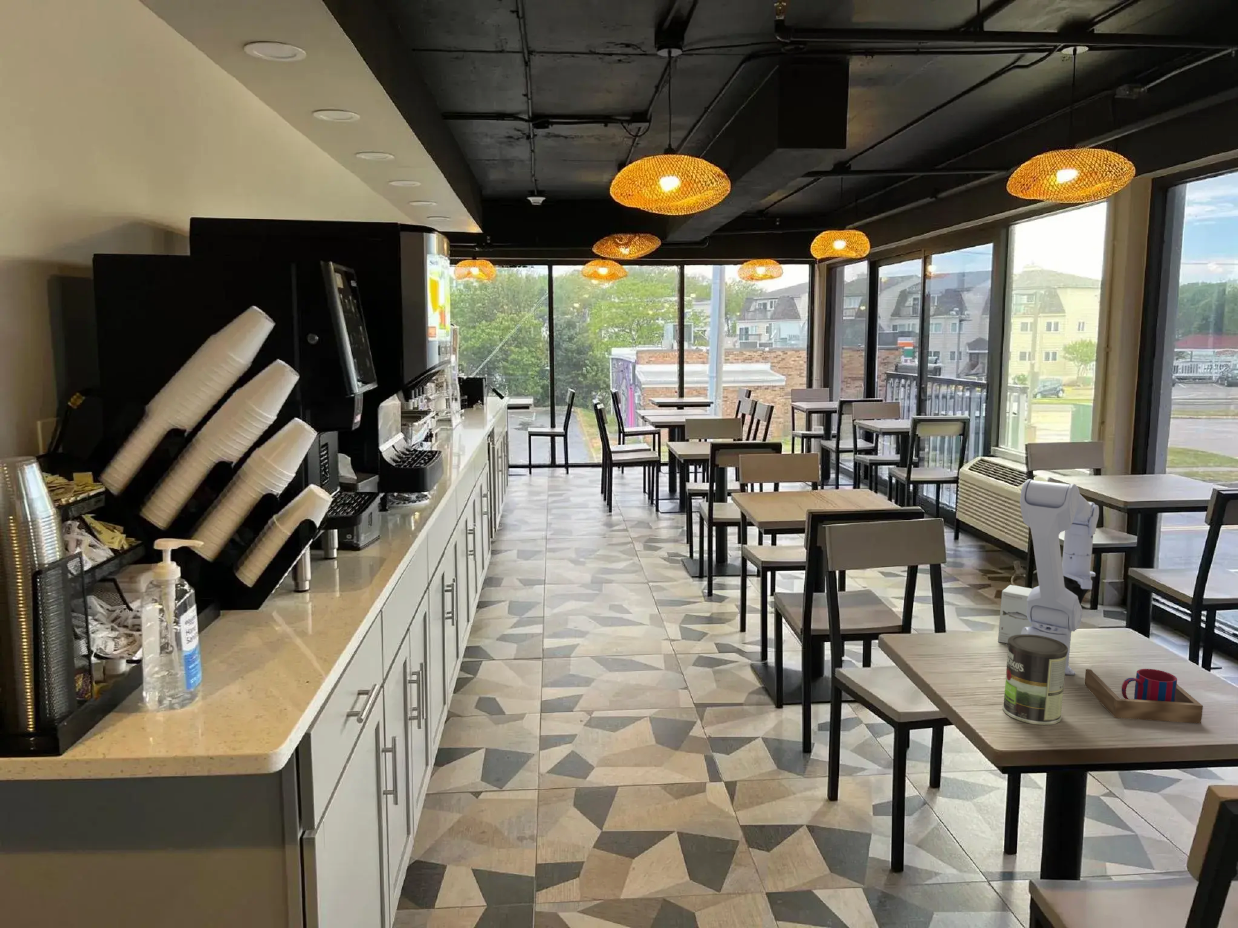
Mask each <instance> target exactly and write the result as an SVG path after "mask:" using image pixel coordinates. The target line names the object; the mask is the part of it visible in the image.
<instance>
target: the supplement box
mask: <svg viewBox="0 0 1238 928" xmlns="http://www.w3.org/2000/svg"><path fill="white" fill-rule="evenodd" d="M1032 589H1033V588H1030V587H1025V586H1024V587H1023V586H1019V585H1013V584H1009V585H1008V586H1007V587H1006V588H1004V589H1003V590H1002V591H1001V599H1000V612H999V625H998V634H997V642H998V643H1003V644H1004V643H1005V644H1008V638H1009V637H1011V636H1014V635H1021V632H1022V629H1023V627H1031V626H1032V623H1031V622H1029V620H1028V618H1027V614H1026V611H1027V599H1028V596H1029V594H1030V592H1031V591H1032Z"/></svg>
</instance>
